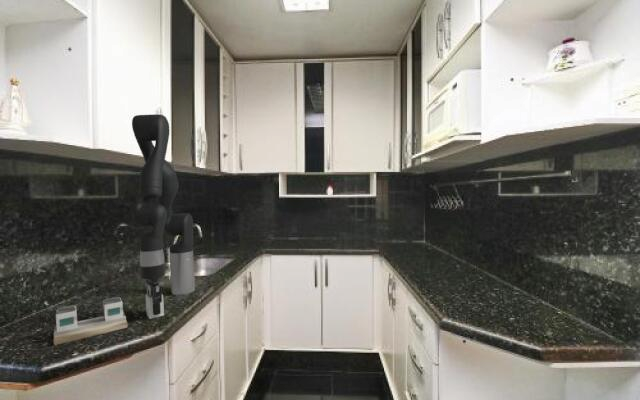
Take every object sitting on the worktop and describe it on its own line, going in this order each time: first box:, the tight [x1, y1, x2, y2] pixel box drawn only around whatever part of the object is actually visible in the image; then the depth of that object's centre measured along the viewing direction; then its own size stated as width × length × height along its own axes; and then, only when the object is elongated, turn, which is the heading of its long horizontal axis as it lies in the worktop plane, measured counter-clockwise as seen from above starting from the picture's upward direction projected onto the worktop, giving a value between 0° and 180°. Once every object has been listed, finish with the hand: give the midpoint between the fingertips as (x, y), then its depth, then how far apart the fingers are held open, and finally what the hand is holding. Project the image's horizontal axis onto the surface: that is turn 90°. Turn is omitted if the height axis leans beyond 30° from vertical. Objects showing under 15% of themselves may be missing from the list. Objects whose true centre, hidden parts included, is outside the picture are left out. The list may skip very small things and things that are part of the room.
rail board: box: [53, 296, 129, 346], centre depth 103 cm, size 12×18×8 cm, turn 127°
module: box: [145, 292, 165, 320], centre depth 114 cm, size 6×4×8 cm
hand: (155, 311), depth 114 cm, fingers closed on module, 5 cm apart
